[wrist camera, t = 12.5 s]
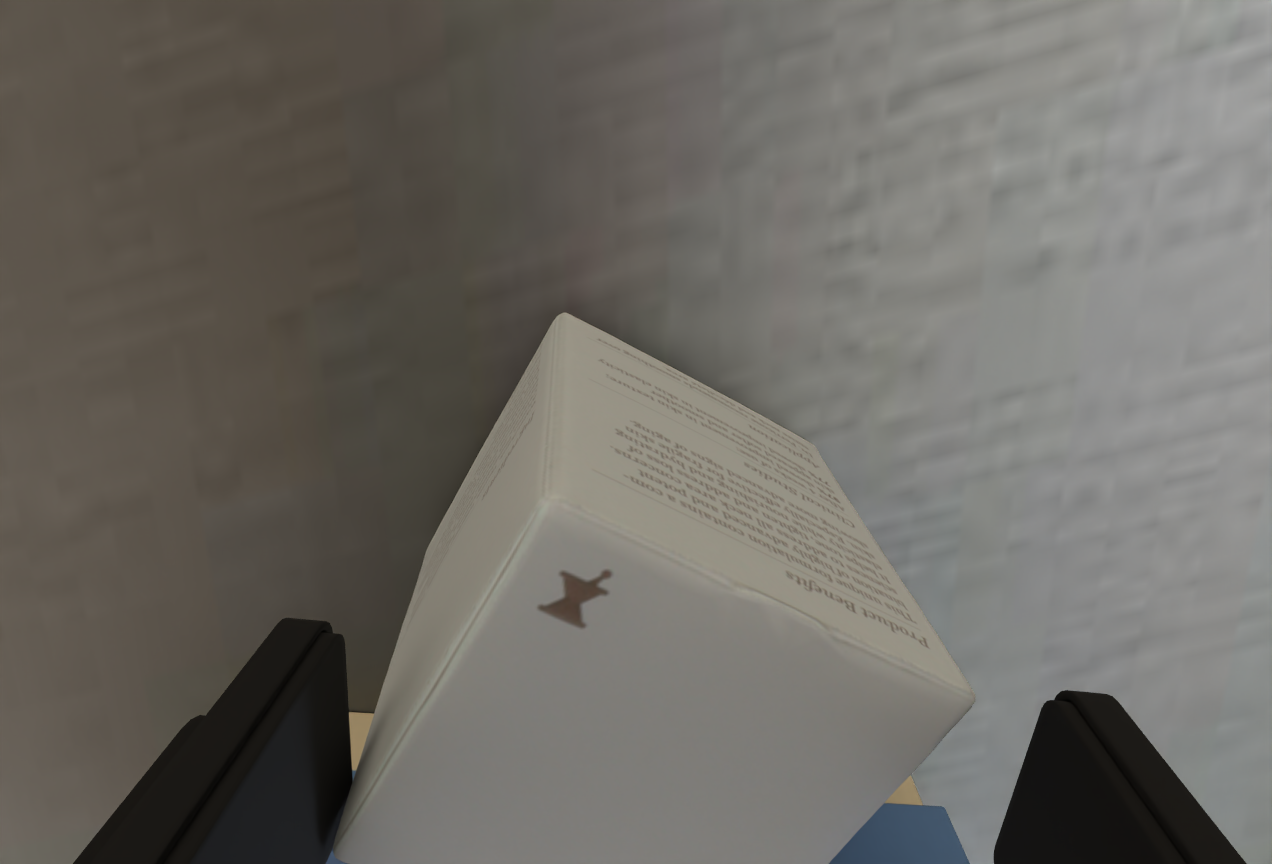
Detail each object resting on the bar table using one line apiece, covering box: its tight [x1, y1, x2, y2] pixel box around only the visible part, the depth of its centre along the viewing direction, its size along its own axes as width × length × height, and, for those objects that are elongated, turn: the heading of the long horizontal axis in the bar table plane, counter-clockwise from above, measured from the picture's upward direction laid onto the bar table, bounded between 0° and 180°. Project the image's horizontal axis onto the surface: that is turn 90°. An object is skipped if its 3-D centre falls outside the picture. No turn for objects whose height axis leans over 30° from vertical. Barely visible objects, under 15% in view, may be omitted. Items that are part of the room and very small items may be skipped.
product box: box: [333, 313, 975, 864], centre depth 13 cm, size 6×6×7 cm
